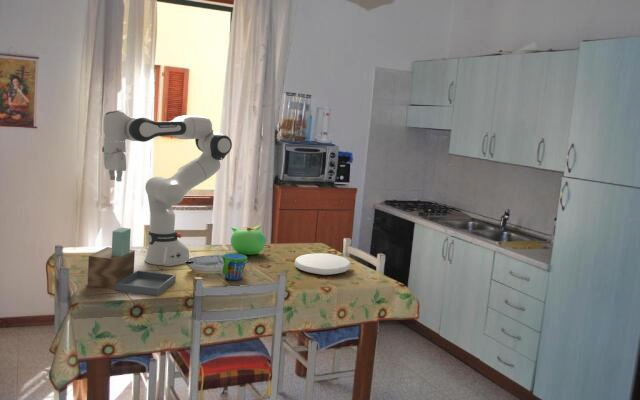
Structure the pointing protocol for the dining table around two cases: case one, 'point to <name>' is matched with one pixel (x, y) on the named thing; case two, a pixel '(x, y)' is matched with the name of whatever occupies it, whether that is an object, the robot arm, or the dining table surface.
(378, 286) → the dining table surface
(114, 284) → the chevron patterned wooden cube
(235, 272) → the snack cup
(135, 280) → the box
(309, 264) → the plate
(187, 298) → the dining table surface
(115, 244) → the teal rectangular block
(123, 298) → the dining table surface
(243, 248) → the green eared pot
